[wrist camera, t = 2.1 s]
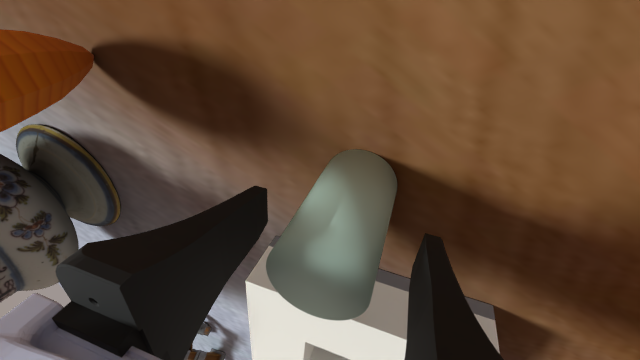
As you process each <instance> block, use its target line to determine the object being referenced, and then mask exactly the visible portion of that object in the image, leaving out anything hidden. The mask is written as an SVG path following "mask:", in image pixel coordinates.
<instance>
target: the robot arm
mask: <svg viewBox="0 0 640 360" xmlns="http://www.w3.org/2000/svg"><path fill="white" fill-rule="evenodd" d="M267 222H268V213H267V189H266V188H262V187H259V186H253V187H251V188H249V189H247V190H245V191H244V192H242V193H240V194H238V195H236V196H234V197H232V198H230V199H228V200H227V201H225V202H223V203H221V204H219V205H217V206H215V207H212V208H210V209H208V210H206V211H204V212H202V213H199V214H197V215H195V216H193V217H190V218H187V219H185V220H182V221H179V222H177V223H174V224H171V225H168V226H164V227H161V228H158V229H154V230H151V231H147V232H144V233H139V234H135V235H131V236H126V237H121V238H116V239H110V240H104V241H98V242H92V243H87V244H86V245H84V246H83V247H82V248H80V249H79V250H78V251H76V252H75V253H73V254H72V255H71V256H69V257H68V258H67V259H65V260H64V261H63V262H61V263H60V264H58V265H57V267H56V271H55V272H56V276H57V278H58V280H59V282H60V284H61V285H62V287H63V288H64V290H65V292H66V293H67V295H68V296H69V298H70V299H71V302H70V303H69V304H68V305H66V306H65V307H63V306H62V305H60V304H59V303H57V302H56V301H54V300H51V299H49V298H47V297H45V296H43V295H40V294H38V293H33V294H32V295H31V296H29V297H28V298H27V299H25V300H24V301H23V302H21V303H20V304H19V305H17V306H16V307H15V308H13V309H12V310H11V311H10V312H8V313H7V314H6V315H4V316H3V317H2V318H0V360H184V358H185V356H186V354H187V352H188V350H189V348H190V346H191V344H192V342H193V340H194V338H195V337H196V335H197V333H198V331H199V329H200V327H201V325H202V323H203V322H204V320H205V318H206V316H207V314H208V313H209V311H210V309H211V307H212V306H213V304H214V302H215V300H216V299H217V297H218V295H219V294H220V292H221V290H222V289H223V287H224V285H225V284H226V282H227V281H228V279H229V278H230V276H231V275H232V274H233V272H234V271H235V270H236V268H237V267H238V266H239V264H240V263H241V262H242V260H243V259H244V258H245V256H246V255H247V254H248V252H249V251H250V250H251V248H252V247H253V246H254V244H255V243H256V241H257V240H258V239H259V237H260V235H261V233H262V232H263V230H264V228H265V226H266V224H267ZM405 360H503V358H502V357H501V355H500V354H499V353H498V351H497V350H496V348H495V347H494V346H493V344H492V343H491V341H490V340H489V338H488V337H487V335H486V333H485V332H484V330H483V329H482V327H481V325H480V324H479V322H478V320H477V319H476V317H475V315H474V313H473V312H472V310H471V308H470V306H469V304H468V302H467V300H466V298H465V296H464V294H463V292H462V290H461V288H460V286H459V284H458V281H457V279H456V277H455V274H454V272H453V270H452V267H451V265H450V262H449V259H448V256H447V254H446V251H445V247H444V244H443V241H442V239H441V238H440V237H437V236H433V235H430V234H426V233H425V235H424V238H423V241H422V243H421V246H420V248H419V251H418V254H417V256H416V259H415V262H414V264H413V267H412V273H411V279H410V285H409V298H408V321H407V342H406V353H405Z"/></svg>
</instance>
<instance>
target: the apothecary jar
mask: <svg viewBox="0 0 640 360" xmlns="http://www.w3.org/2000/svg"><path fill="white" fill-rule="evenodd" d="M16 148H17V153H18V157H19V159H20V161H21V163H22V166H23V167H22V166H20V165H19V164H17V163H15V162H14V161H12V160H10V159H9V158H7V157H5V156H3V155H1V154H0V302H1V301H3V300H4V299H6V298H8V297H9V296H11V295H12V294H14V293H15V292H17V291H28V290H37V289H42V288H46V287H50V286H52V285H54V284H56V283H58V282H59V280H58V278H57V276H56V272H55V271H56V267H57V265H58V264H60V263H61V262H63V261H64V260H65V259H67V258H68V257H69V256H71V255H72V254H73V253H75V252H76V251H78V239H77V234H76V231H75V228H74V225H73V223H72V221H71V219H70V217H71V218H73V219H76V220H78V221H81V222H83V223H86V224H89V225H94V226H106V225H110V224H112V223H114V222H115V221H116V220H117V219H118V217H119V215H120V201H119V198H118V194H117V192H116V190H115V188H114V186H113V184H112V182H111V181H110V179H109V177H108V176H107V174H106V173H105V171H104V170H103V169H102V167H101V166H100V165H99V164H98V163H97V161H96V160H95V159H94V158H93V157H92V156H91V155H90V154H89V153H88V152H87V151H86V150H85V149H84V148H83V147H81V146H80V145H79V144H78V143H77V142H75V141H74V140H72V139H71V138H70V137H68V136H66V135H65V134H63V133H61V132H59V131H58V130H55V129H53V128H50V127H47V126H44V125H37V124H31V125H27V126H25V127H23V128H22V129H21V130H20V131H19V133H18V135H17V140H16Z"/></svg>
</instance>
